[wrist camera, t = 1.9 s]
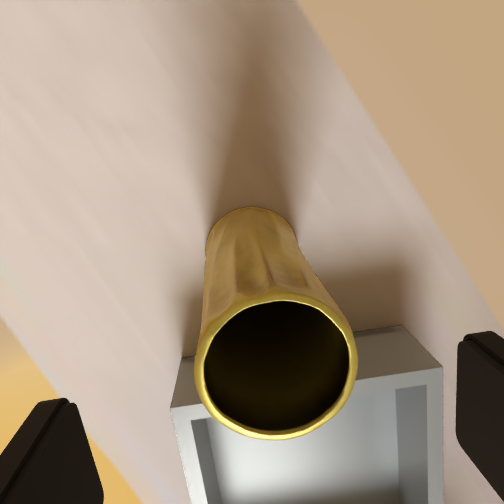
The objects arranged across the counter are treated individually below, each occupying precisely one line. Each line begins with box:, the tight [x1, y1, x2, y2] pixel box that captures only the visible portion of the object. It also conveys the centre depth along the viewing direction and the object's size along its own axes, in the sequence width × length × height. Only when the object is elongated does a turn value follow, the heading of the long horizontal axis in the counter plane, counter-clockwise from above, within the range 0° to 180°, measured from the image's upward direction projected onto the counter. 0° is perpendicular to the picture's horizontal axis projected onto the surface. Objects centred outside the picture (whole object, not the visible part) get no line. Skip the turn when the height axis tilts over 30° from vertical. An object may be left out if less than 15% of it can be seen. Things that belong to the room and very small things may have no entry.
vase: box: [194, 207, 358, 440], centre depth 19 cm, size 6×6×14 cm
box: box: [170, 325, 443, 504], centre depth 27 cm, size 16×18×6 cm
